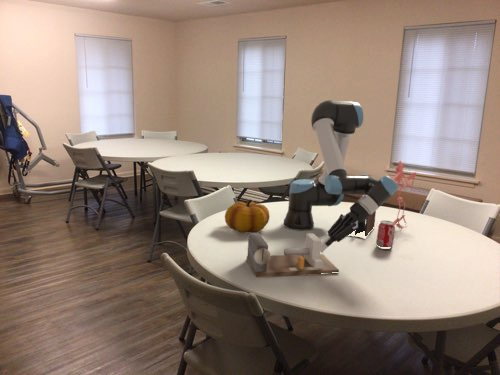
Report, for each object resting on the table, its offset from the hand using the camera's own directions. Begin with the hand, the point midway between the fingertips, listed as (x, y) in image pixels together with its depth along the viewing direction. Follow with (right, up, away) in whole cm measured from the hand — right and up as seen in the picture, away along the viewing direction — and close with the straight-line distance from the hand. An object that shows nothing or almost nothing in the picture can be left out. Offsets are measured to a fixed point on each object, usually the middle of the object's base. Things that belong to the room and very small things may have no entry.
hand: (319, 249), depth 166 cm
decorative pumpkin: (-28, +4, +40) cm, 49 cm away
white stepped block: (-7, -5, -2) cm, 9 cm away
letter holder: (+28, +2, +47) cm, 55 cm away
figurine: (+48, +4, +61) cm, 78 cm away
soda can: (+33, -3, +26) cm, 43 cm away
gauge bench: (-11, -6, -1) cm, 13 cm away
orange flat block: (-8, -6, -7) cm, 12 cm away
